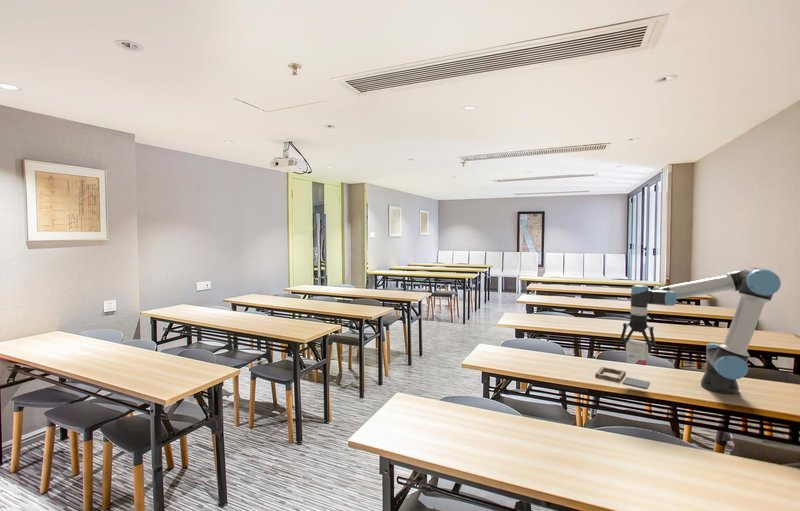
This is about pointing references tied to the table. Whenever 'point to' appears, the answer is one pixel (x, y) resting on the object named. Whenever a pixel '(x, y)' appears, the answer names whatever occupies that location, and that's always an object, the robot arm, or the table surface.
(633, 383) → the pad
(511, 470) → the table surface
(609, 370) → the frame
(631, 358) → the ink box
